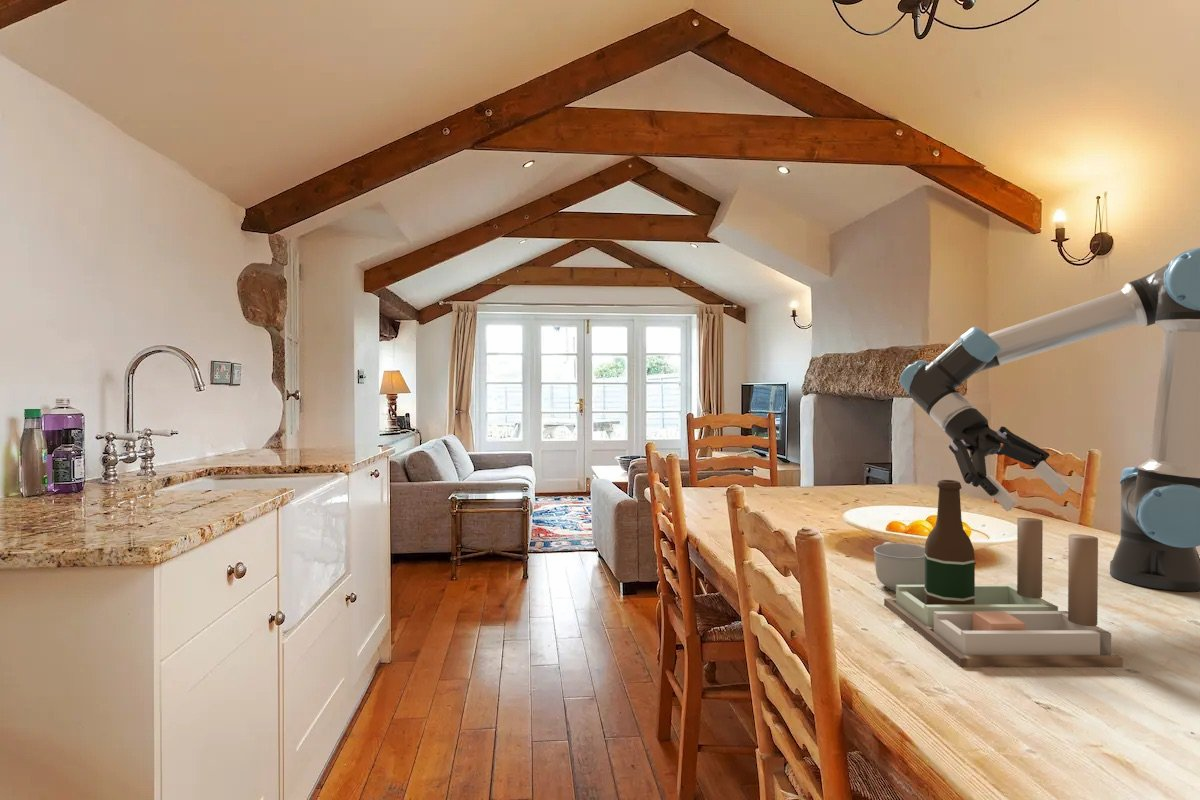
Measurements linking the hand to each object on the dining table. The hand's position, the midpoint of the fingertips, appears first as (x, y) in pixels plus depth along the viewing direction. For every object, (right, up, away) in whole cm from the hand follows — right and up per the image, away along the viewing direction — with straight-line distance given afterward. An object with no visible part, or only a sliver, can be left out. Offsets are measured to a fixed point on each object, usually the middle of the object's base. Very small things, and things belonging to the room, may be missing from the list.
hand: (1039, 498), depth 122 cm
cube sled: (-18, -20, -22) cm, 34 cm away
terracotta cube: (-21, -20, -22) cm, 36 cm away
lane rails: (-18, -20, -15) cm, 30 cm away
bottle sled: (-18, -19, -9) cm, 28 cm away
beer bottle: (-22, -20, -9) cm, 31 cm away
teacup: (-21, -19, +10) cm, 30 cm away
